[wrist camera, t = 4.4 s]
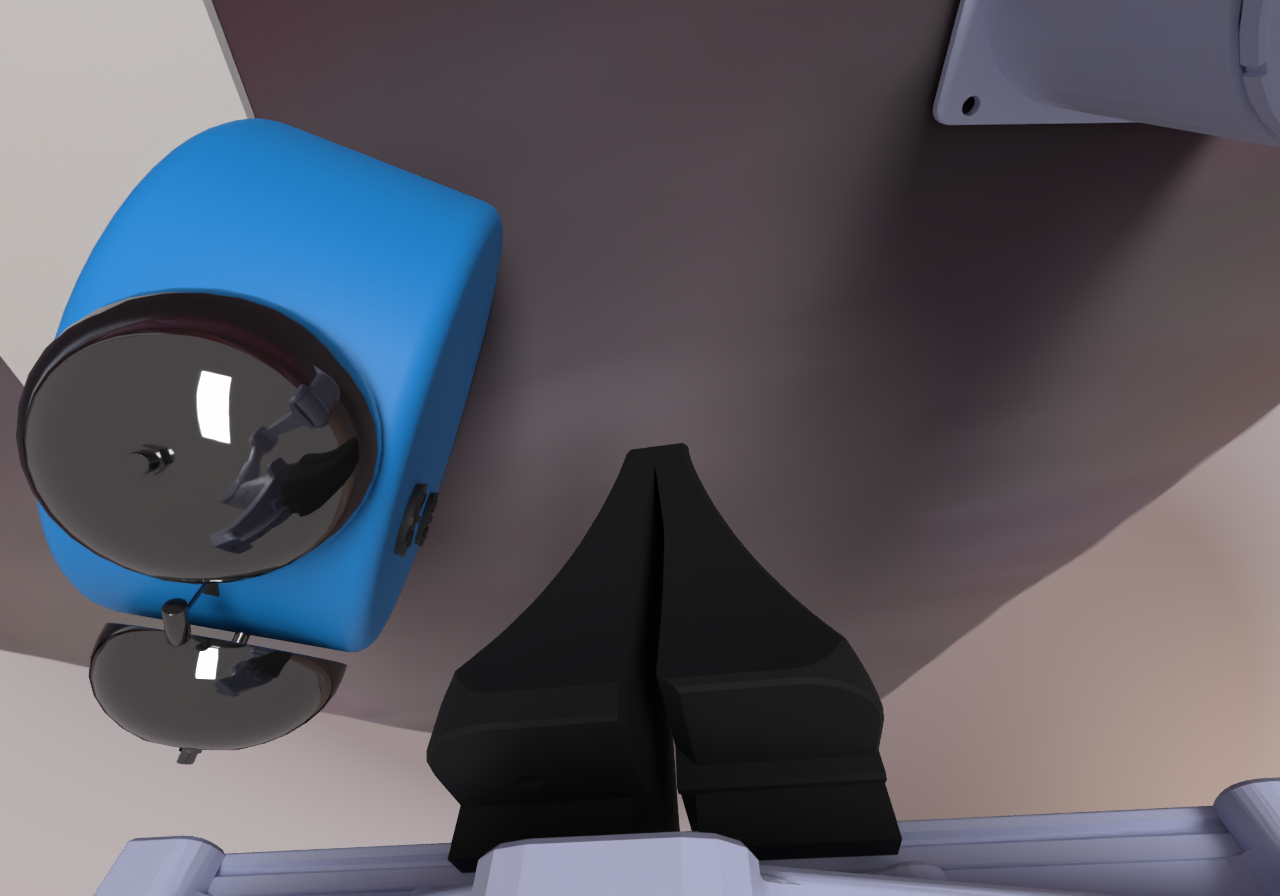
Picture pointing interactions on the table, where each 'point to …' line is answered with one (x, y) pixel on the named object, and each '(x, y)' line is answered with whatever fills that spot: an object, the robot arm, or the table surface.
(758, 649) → the robot arm
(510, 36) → the table surface
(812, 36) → the table surface
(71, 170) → the mat
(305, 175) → the alarm clock
